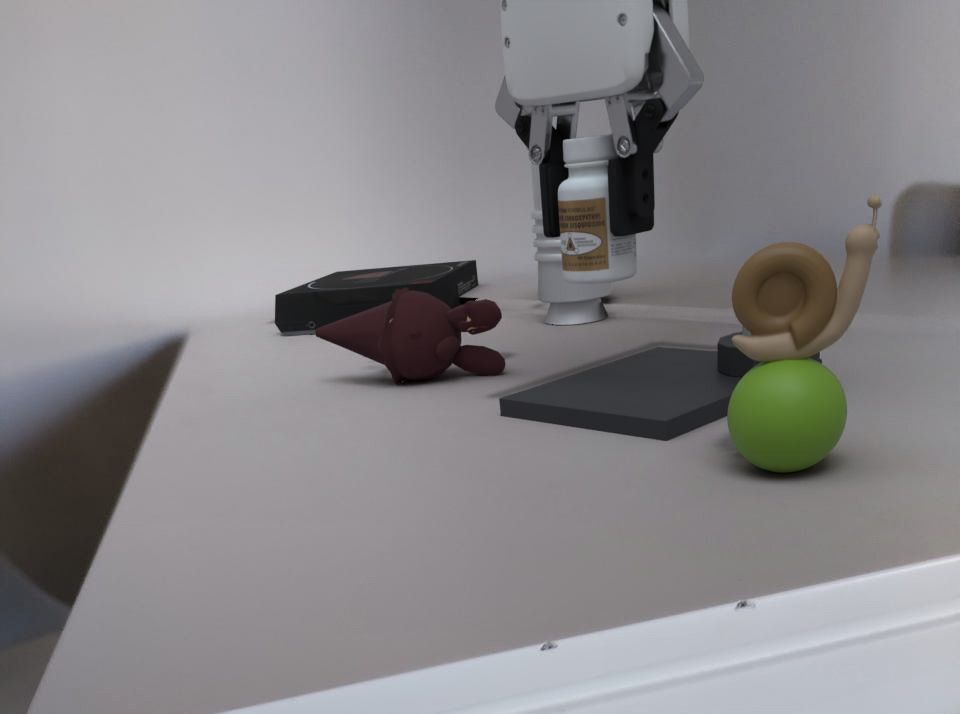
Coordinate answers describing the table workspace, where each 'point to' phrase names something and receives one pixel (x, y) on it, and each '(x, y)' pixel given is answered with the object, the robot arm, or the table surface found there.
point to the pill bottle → (591, 216)
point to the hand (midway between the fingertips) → (597, 230)
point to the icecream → (419, 336)
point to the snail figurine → (794, 349)
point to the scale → (641, 392)
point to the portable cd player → (368, 293)
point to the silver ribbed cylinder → (561, 276)
